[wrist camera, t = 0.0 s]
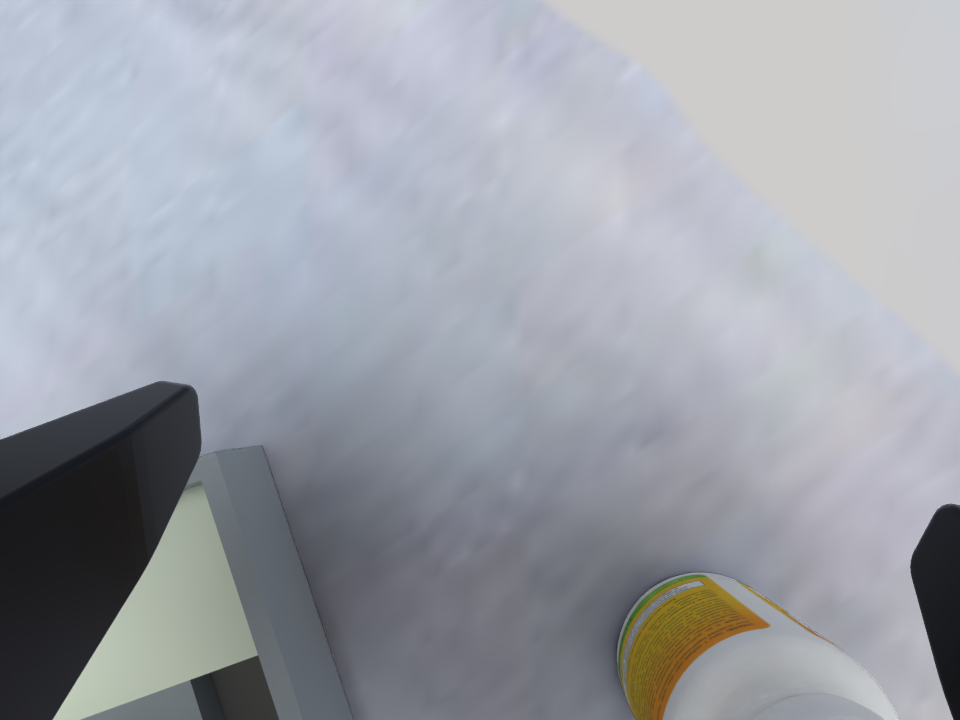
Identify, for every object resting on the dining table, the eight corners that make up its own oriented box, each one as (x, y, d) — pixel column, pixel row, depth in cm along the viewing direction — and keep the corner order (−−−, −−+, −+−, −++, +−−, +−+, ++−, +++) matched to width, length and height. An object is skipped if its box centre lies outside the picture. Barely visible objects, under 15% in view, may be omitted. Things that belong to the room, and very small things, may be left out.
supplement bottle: (600, 724, 23) (676, 951, 13) (629, 554, 23) (724, 653, 14) (771, 759, 23) (973, 1014, 13) (797, 587, 23) (1013, 711, 14)
